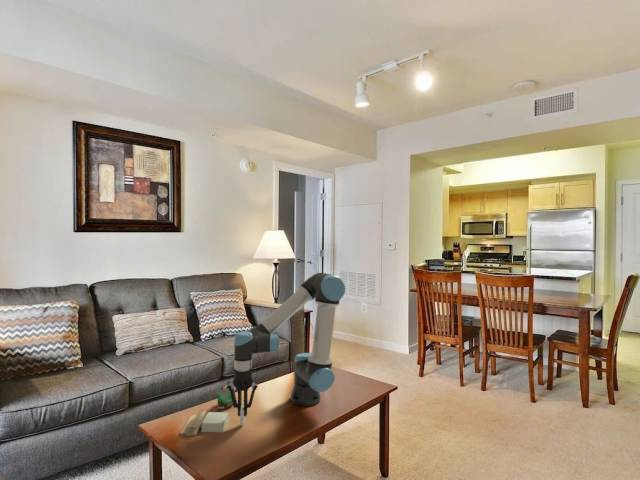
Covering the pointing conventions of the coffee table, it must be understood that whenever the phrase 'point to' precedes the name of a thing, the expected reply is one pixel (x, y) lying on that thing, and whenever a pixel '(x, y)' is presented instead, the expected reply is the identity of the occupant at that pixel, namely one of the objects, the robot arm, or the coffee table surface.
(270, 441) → the coffee table surface
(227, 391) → the food container
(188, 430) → the beige ridged bar
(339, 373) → the coffee table surface
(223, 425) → the block
